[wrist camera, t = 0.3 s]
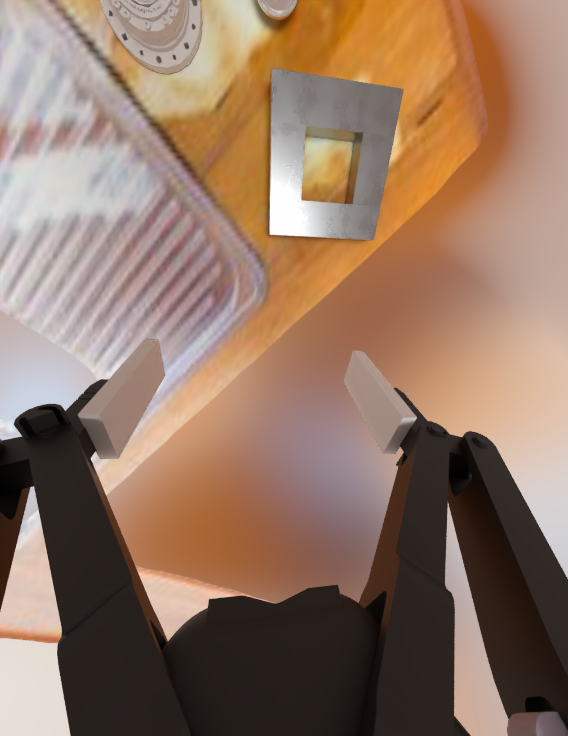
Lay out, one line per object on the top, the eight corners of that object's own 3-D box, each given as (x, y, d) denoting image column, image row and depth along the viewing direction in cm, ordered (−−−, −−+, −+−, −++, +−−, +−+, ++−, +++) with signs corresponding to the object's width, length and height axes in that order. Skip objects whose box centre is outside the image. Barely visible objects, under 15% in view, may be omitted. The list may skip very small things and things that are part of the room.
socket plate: (269, 84, 28) (271, 68, 25) (390, 102, 30) (403, 89, 28) (268, 235, 36) (269, 234, 33) (365, 240, 38) (373, 240, 35)
